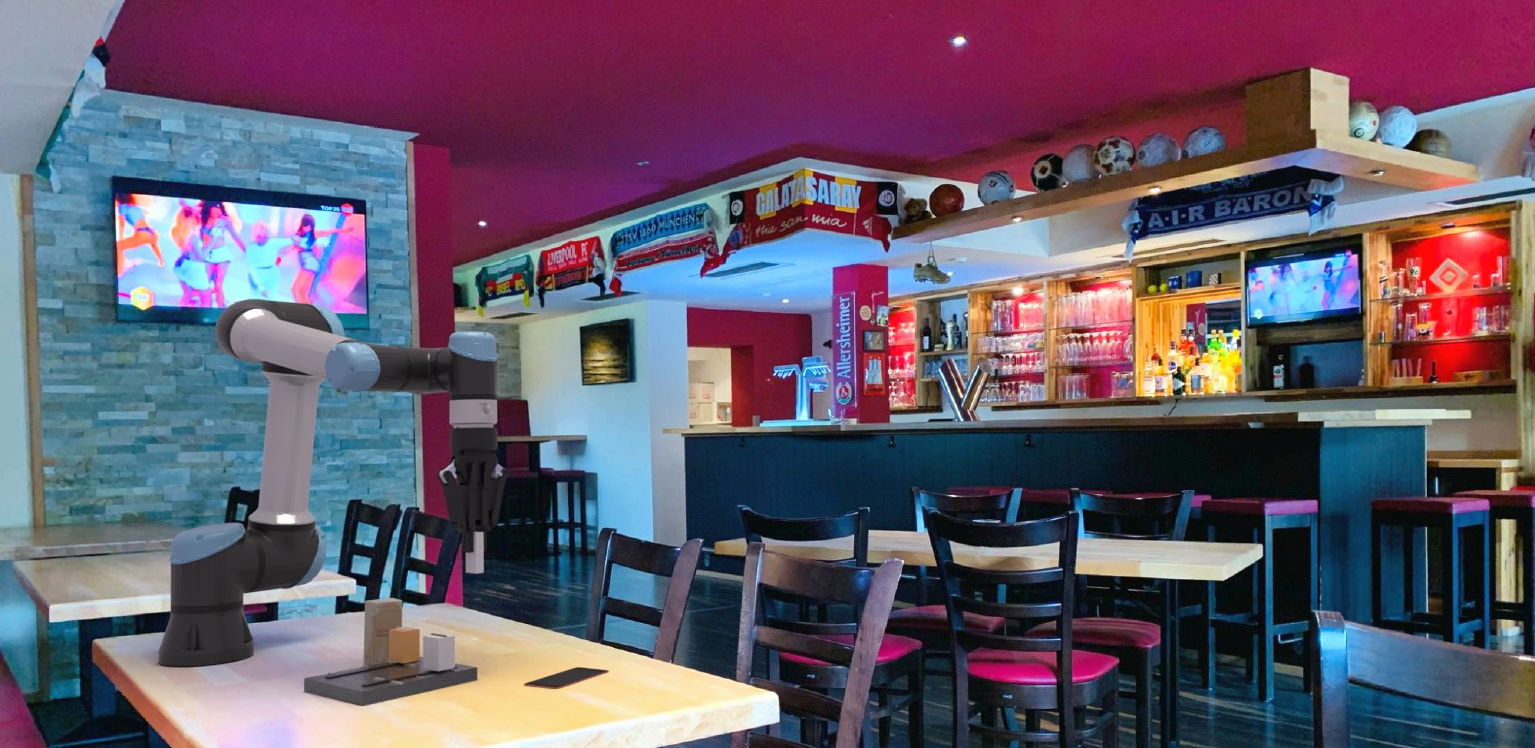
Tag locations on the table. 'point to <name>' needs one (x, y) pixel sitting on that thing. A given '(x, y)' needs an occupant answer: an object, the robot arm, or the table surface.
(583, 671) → the smartphone
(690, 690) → the table surface
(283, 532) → the robot arm
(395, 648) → the fader orange
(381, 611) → the box
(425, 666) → the fader grey
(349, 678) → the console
